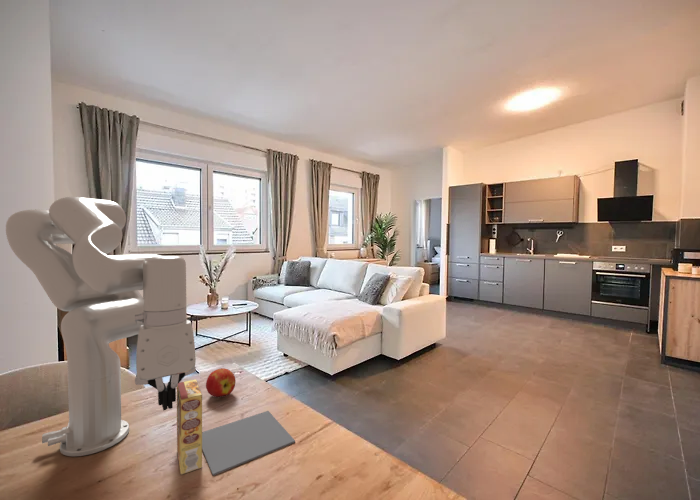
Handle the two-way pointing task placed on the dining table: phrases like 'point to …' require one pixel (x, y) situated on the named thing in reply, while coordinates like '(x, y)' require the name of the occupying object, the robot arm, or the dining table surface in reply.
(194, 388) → the candy box
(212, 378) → the apple
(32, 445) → the dining table surface
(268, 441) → the slate mat
